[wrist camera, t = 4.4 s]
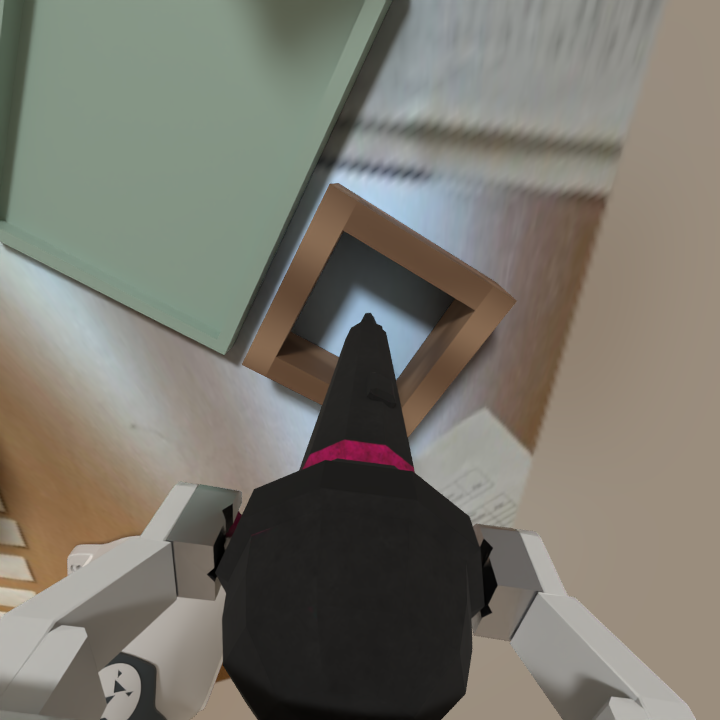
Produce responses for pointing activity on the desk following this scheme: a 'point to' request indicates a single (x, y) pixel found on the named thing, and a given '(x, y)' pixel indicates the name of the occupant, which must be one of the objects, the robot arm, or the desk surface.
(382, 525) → the microphone
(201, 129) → the tray
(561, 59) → the desk surface
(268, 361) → the holder
